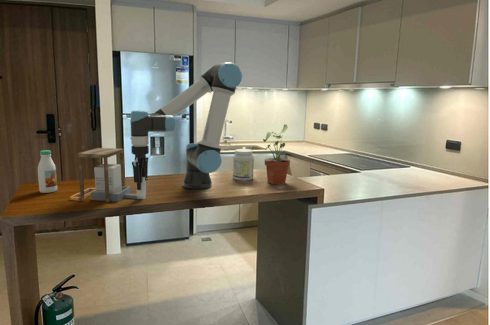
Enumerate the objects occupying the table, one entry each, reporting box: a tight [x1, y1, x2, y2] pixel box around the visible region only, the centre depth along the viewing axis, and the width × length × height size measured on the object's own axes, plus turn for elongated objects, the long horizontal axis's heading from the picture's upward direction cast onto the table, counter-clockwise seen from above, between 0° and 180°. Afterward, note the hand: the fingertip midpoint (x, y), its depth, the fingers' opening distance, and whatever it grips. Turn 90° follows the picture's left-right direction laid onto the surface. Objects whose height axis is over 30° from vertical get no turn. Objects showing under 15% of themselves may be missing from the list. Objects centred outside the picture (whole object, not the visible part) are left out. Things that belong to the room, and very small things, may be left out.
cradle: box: [90, 177, 147, 202], centre depth 165 cm, size 22×13×10 cm, turn 84°
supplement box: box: [93, 163, 122, 193], centre depth 165 cm, size 9×9×15 cm
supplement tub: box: [232, 148, 255, 182], centre depth 208 cm, size 12×12×17 cm
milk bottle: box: [37, 149, 58, 194], centre depth 171 cm, size 8×8×20 cm
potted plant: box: [262, 124, 291, 186], centre depth 198 cm, size 16×15×35 cm
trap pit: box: [68, 187, 95, 202], centre depth 168 cm, size 5×17×1 cm, turn 174°
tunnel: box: [77, 147, 126, 203], centre depth 165 cm, size 13×18×22 cm
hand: (141, 195), depth 165 cm, fingers closed on cradle, 2 cm apart
